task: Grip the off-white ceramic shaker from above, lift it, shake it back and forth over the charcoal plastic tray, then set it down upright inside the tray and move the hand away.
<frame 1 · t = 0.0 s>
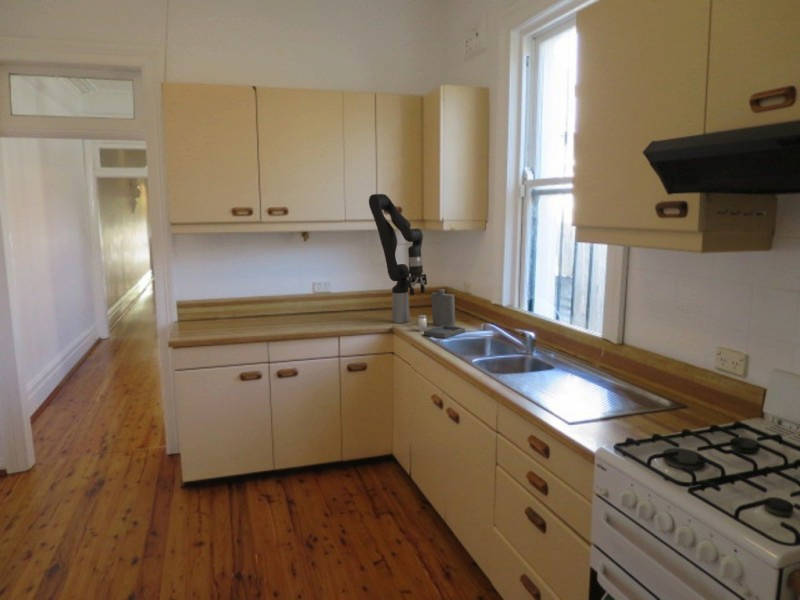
hand: (417, 294, 317), 17 cm above the counter, tool pointing down, fingers open, 8 cm apart
shaker: (422, 330, 303), on the counter
hip flask: (443, 325, 314), on the counter
tray: (444, 333, 293), on the counter
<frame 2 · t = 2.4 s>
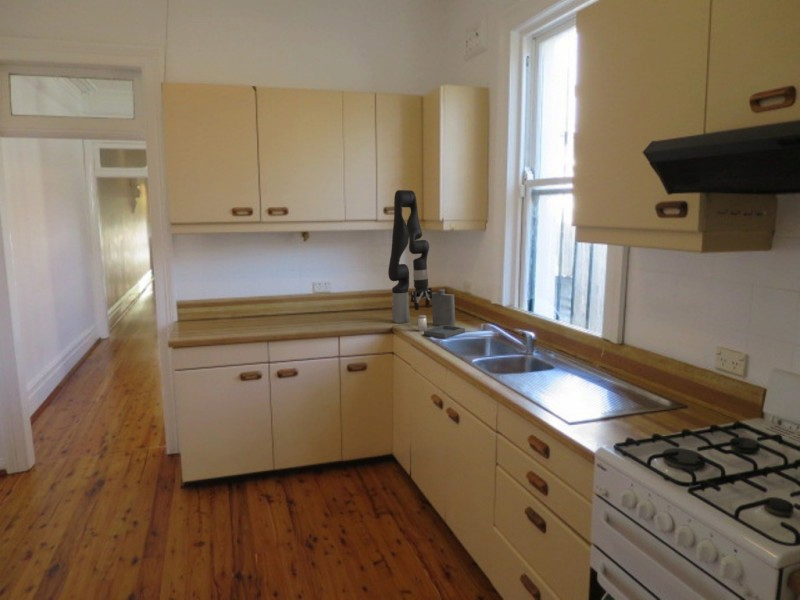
hand: (422, 308, 301), 12 cm above the counter, tool pointing down, fingers open, 8 cm apart
nothing on the counter moved.
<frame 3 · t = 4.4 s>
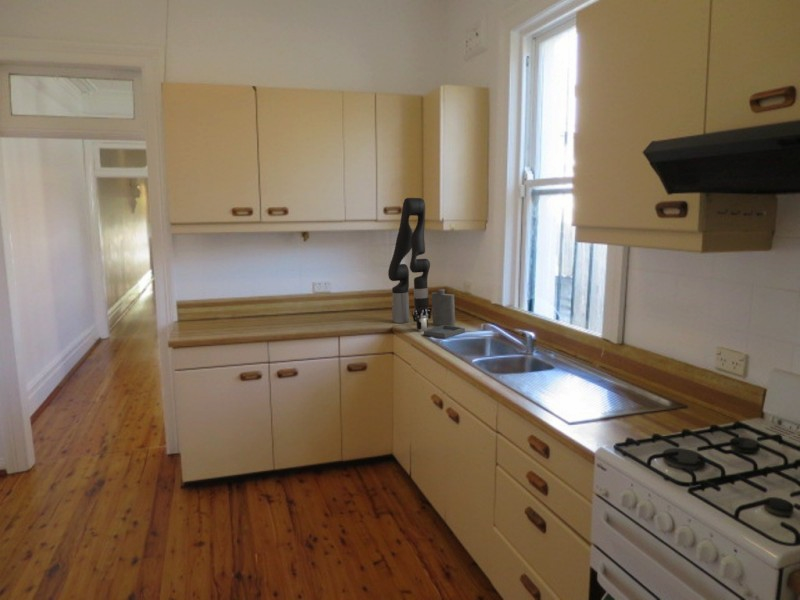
hand: (422, 328, 303), 1 cm above the counter, tool pointing down, fingers closed on shaker, 4 cm apart
shaker: (422, 330, 303), on the counter, touching gripper
everything else where it was.
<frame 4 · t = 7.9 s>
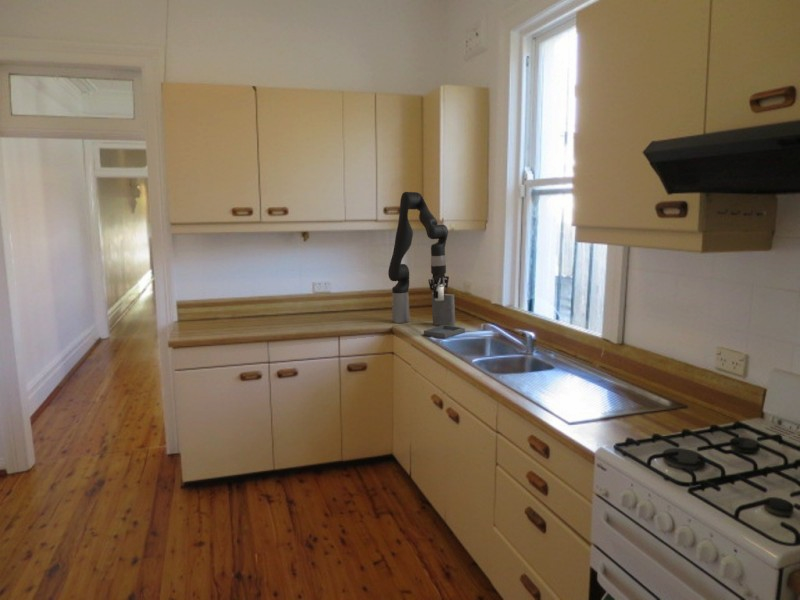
hand: (439, 297, 292), 19 cm above the counter, tool pointing down, fingers closed on shaker, 4 cm apart
shaker: (439, 299, 292), point 18 cm above the counter, touching gripper
everything else where it was.
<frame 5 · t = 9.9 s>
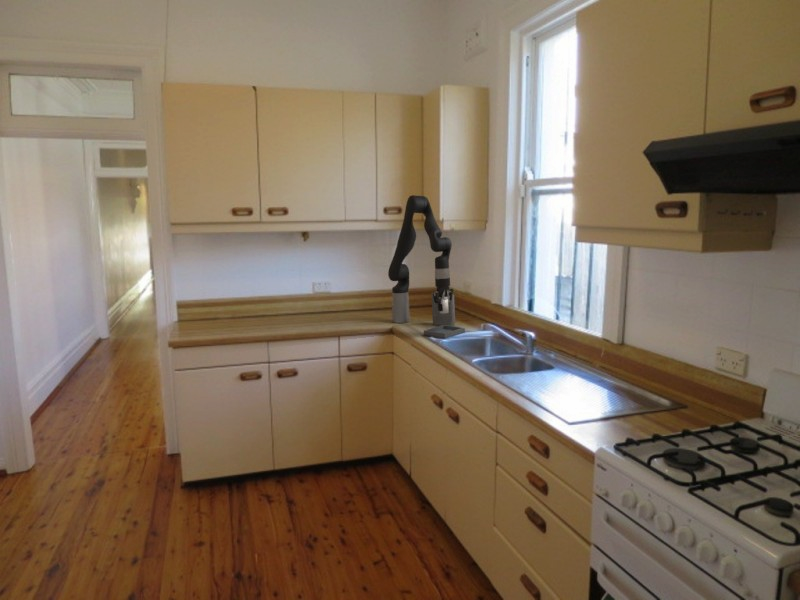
hand: (443, 310, 291), 12 cm above the counter, tool pointing down, fingers closed on shaker, 4 cm apart
shaker: (444, 312, 291), point 11 cm above the counter, touching gripper
everything else where it was.
when the fingers open (3 cm above the counter, at t = 11.6 s): shaker stays where it is, resting on tray.
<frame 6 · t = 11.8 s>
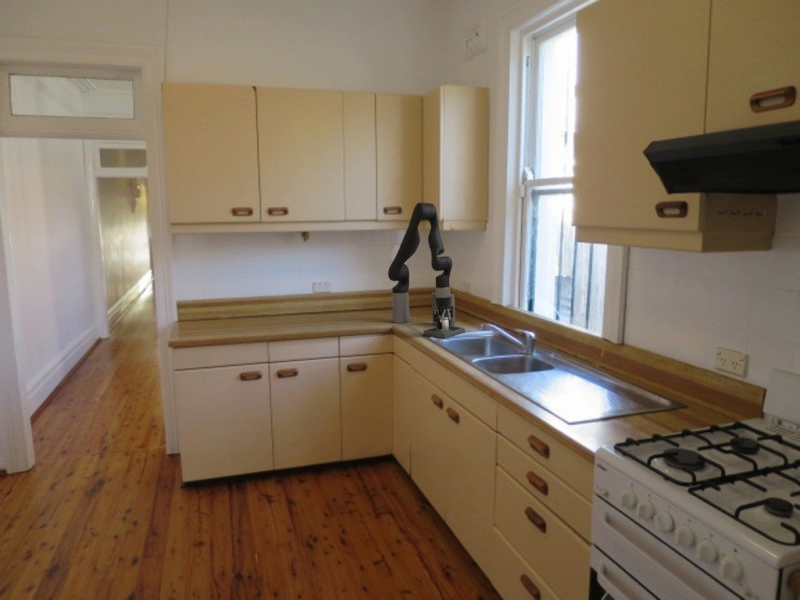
hand: (444, 327, 292), 3 cm above the counter, tool pointing down, fingers open, 6 cm apart
shaker: (444, 332, 293), point 1 cm above the counter, touching tray
everything else where it was.
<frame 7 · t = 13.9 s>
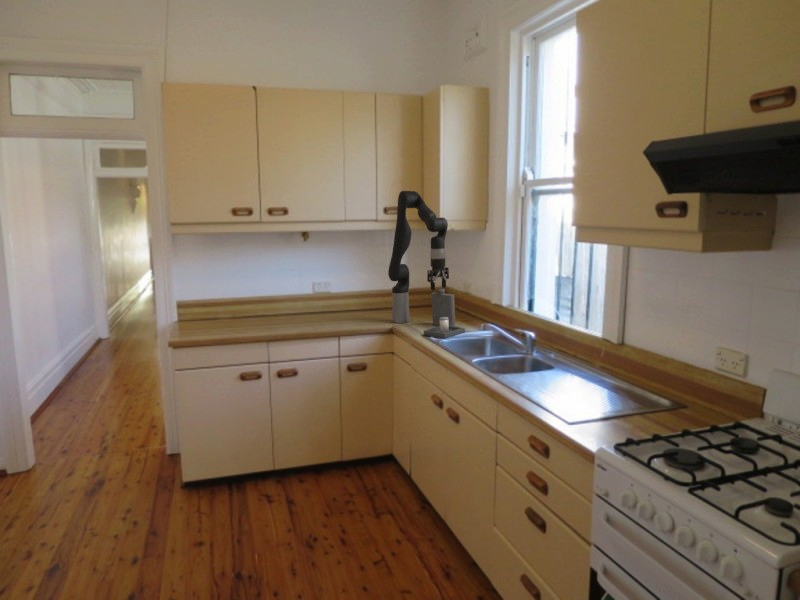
hand: (438, 288, 292), 23 cm above the counter, tool pointing down, fingers open, 8 cm apart
nothing on the counter moved.
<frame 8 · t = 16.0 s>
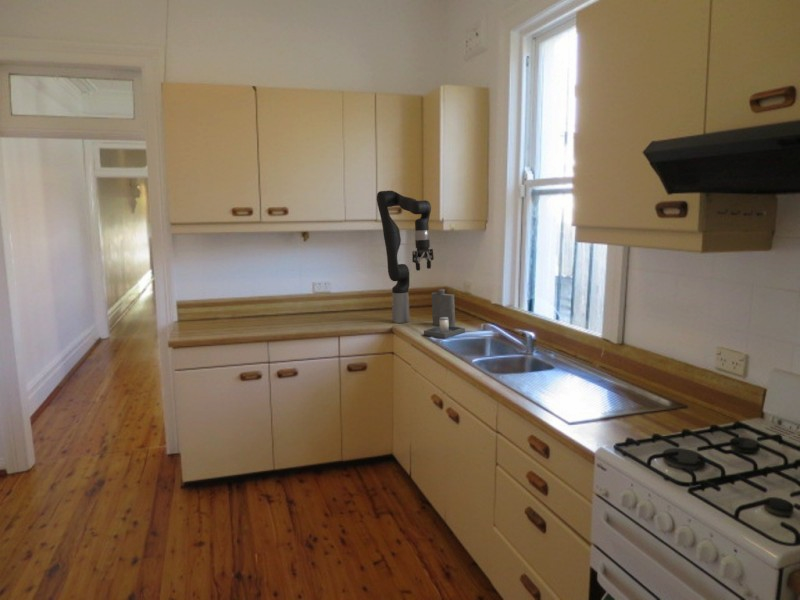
hand: (423, 269, 303), 32 cm above the counter, tool pointing down, fingers open, 8 cm apart
nothing on the counter moved.
at the end: shaker inside the target area on the tray (0.0 cm from its centre), point 0.6 cm above the tray's base; shaker tilted 0°; the gripper is holding nothing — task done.
